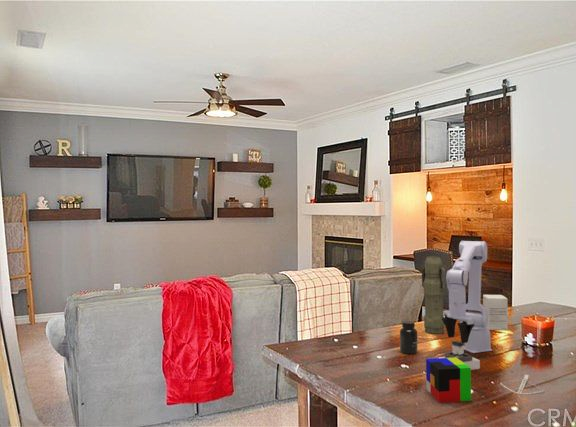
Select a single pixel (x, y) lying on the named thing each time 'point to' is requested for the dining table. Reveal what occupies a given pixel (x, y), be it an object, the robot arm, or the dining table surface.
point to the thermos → (433, 294)
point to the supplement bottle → (408, 338)
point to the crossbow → (522, 387)
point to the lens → (457, 349)
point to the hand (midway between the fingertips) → (457, 339)
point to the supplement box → (496, 311)
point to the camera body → (466, 360)
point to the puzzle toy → (448, 379)
